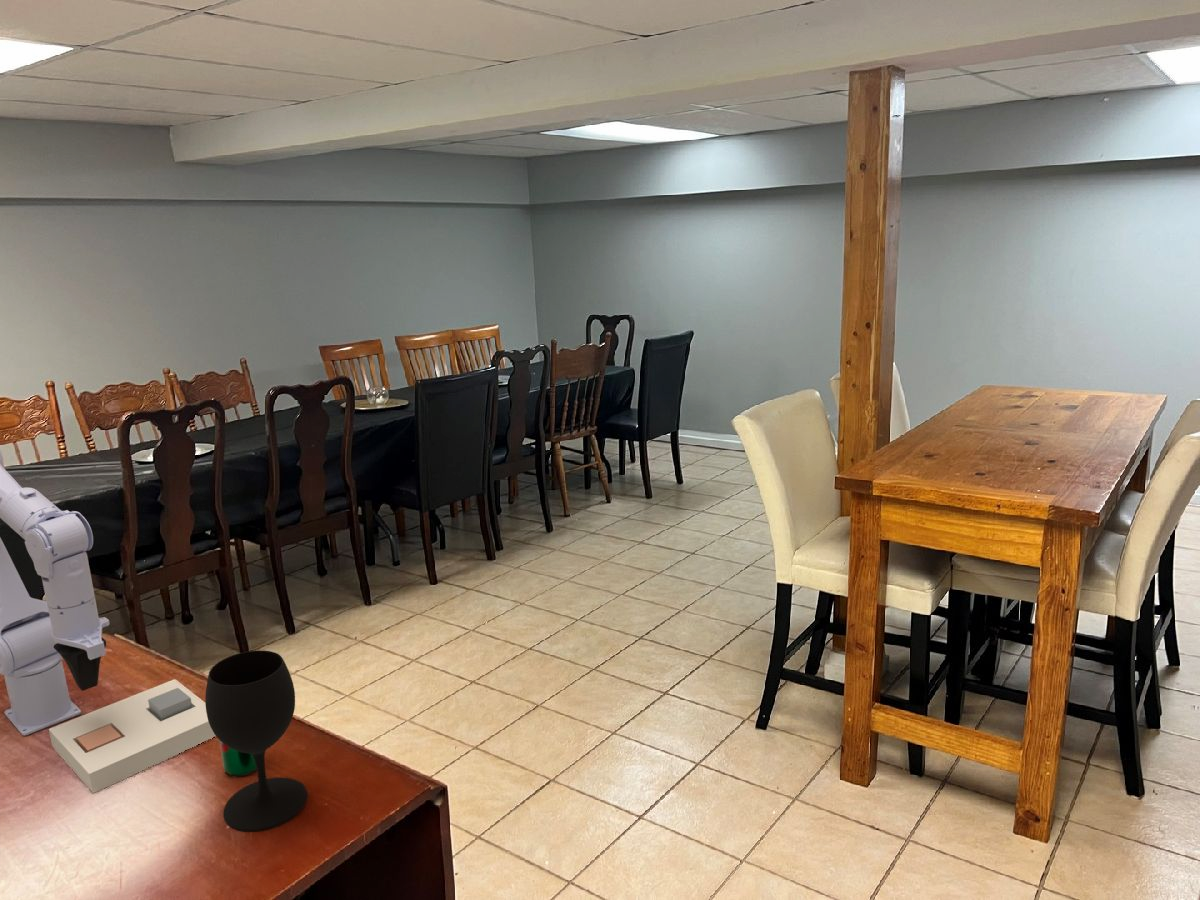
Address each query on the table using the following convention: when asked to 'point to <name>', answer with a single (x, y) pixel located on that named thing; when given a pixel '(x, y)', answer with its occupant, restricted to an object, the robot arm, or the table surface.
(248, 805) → the wine glass
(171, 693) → the slate key
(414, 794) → the table surface
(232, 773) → the soda can
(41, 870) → the table surface
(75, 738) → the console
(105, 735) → the terracotta key
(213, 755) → the table surface
